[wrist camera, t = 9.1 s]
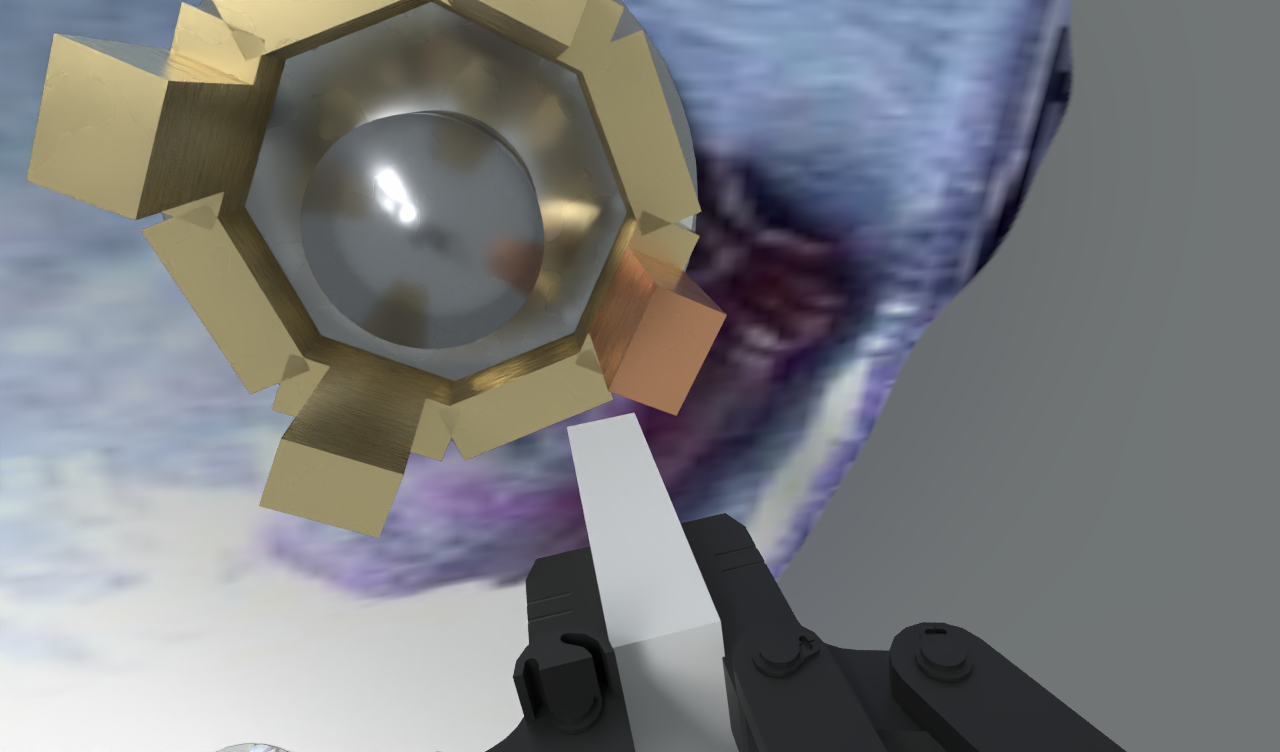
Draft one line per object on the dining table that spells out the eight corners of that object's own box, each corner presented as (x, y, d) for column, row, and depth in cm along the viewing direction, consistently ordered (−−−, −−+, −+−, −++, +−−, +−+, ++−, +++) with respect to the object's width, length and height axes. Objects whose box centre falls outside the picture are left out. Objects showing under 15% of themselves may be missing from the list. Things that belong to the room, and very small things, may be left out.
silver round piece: (81, -45, 20) (-120, -110, 14) (654, -119, 22) (712, -209, 16) (281, 463, 27) (208, 578, 20) (711, 376, 29) (768, 457, 22)
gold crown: (135, 333, 22) (-21, 431, 16) (261, -173, 18) (121, -324, 12) (569, 471, 27) (587, 593, 20) (747, 87, 23) (843, 83, 16)
